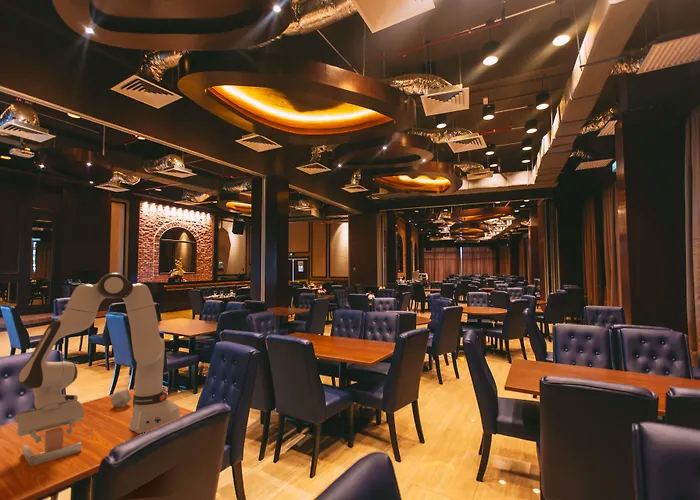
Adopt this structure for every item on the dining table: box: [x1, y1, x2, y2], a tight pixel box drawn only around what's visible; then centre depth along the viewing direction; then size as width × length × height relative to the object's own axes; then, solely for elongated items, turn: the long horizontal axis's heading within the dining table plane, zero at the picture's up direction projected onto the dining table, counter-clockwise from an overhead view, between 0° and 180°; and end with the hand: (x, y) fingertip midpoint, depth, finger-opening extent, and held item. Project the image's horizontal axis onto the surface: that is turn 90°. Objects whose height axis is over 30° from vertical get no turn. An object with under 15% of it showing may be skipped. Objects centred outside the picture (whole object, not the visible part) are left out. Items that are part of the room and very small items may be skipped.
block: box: [44, 426, 64, 452], centre depth 141 cm, size 4×4×8 cm
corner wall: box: [22, 441, 82, 467], centre depth 141 cm, size 14×15×3 cm
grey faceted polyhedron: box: [109, 389, 133, 408], centre depth 189 cm, size 8×9×10 cm
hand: (54, 437), depth 140 cm, fingers open, 8 cm apart
